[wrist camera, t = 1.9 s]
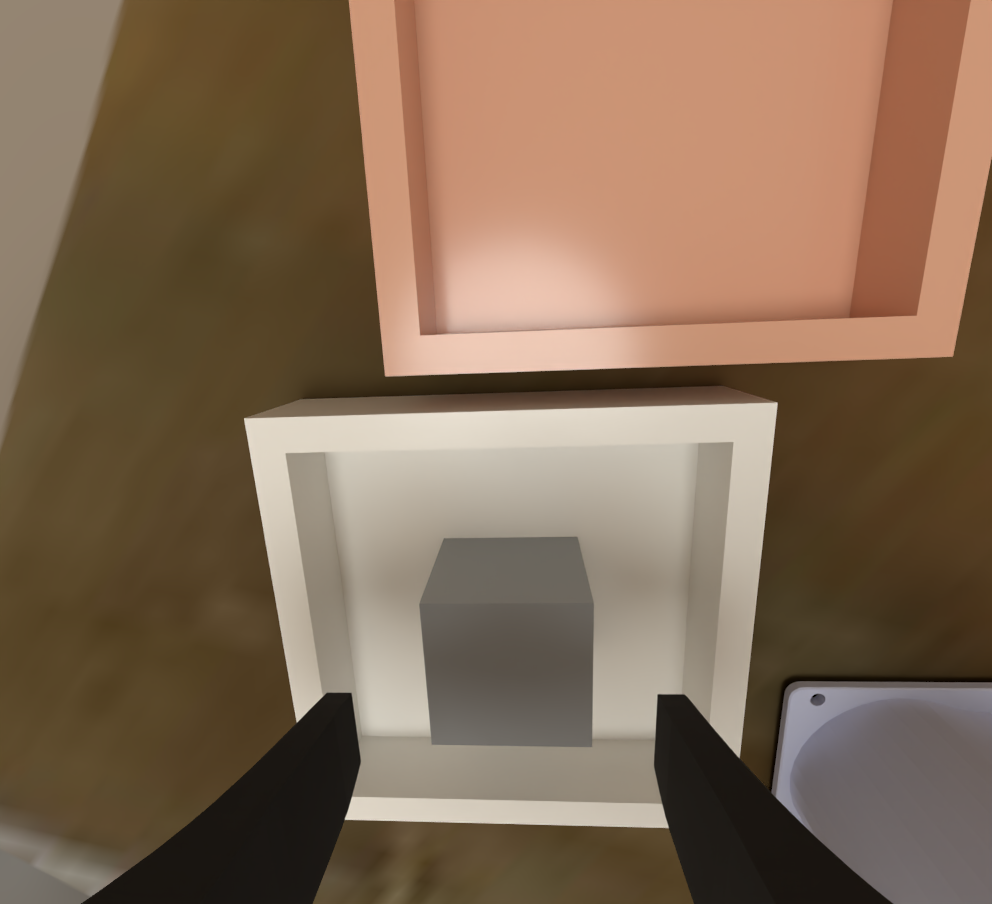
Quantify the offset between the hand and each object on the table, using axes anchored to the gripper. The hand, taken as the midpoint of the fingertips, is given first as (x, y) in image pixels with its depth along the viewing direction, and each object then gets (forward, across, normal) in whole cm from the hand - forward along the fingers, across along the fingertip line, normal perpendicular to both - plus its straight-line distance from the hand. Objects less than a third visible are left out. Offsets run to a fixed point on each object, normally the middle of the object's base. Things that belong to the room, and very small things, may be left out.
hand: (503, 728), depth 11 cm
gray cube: (+6, 0, 0) cm, 6 cm away
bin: (+7, -4, -15) cm, 17 cm away
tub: (+7, 0, 0) cm, 7 cm away
